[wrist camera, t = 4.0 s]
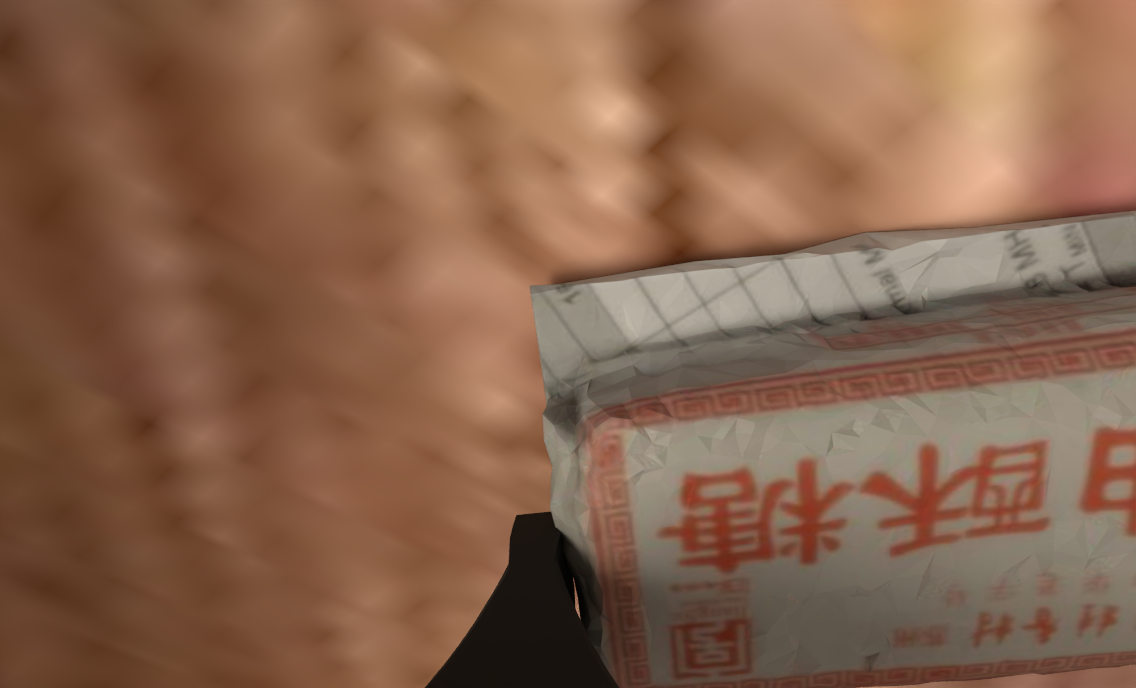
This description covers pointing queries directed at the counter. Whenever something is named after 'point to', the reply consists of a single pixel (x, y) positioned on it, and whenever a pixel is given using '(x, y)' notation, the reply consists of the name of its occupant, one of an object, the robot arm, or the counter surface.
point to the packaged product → (852, 458)
